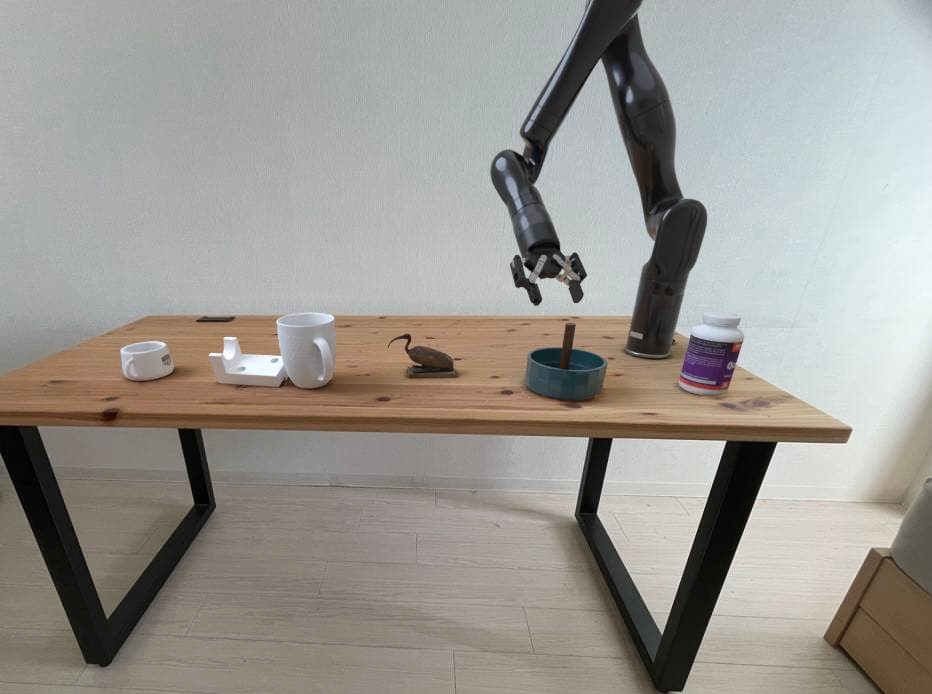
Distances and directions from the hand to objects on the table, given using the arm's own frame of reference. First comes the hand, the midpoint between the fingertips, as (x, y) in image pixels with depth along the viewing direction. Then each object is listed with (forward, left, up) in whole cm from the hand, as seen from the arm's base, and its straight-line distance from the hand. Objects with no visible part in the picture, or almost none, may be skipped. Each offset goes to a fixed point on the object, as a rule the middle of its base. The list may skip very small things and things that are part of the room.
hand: (558, 302), depth 86 cm
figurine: (+10, -24, -16) cm, 30 cm away
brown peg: (+4, +3, -15) cm, 16 cm away
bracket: (+31, -52, -16) cm, 62 cm away
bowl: (+4, +4, -16) cm, 16 cm away
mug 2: (+27, -39, -16) cm, 50 cm away
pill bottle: (-8, +27, -16) cm, 32 cm away
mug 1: (+41, -73, -16) cm, 85 cm away
